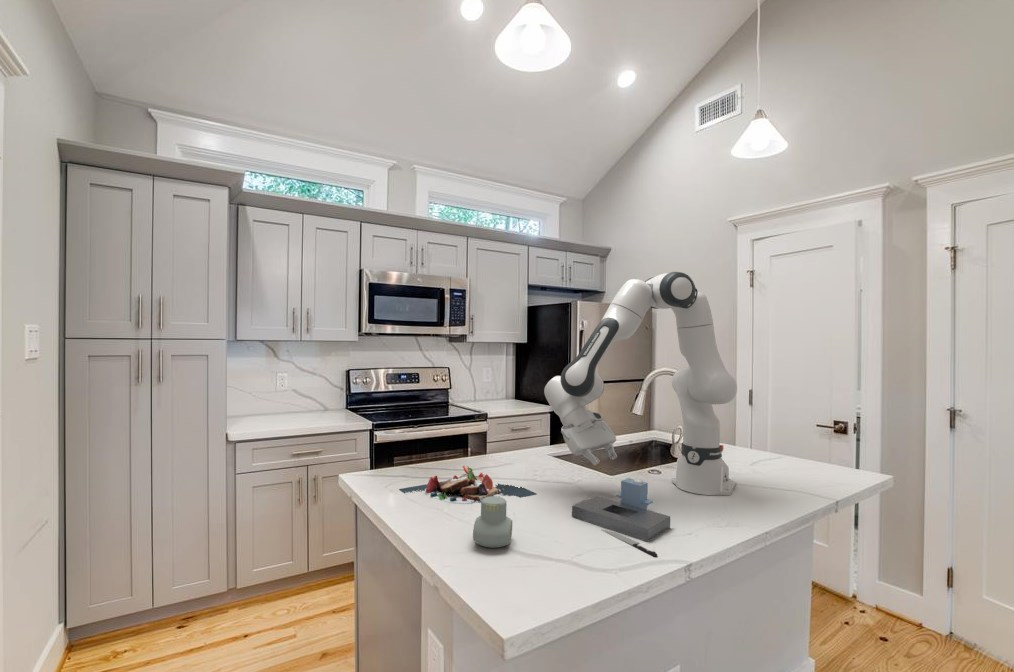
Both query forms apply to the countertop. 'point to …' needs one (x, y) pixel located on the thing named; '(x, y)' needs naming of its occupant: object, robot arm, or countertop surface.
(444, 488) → the platter
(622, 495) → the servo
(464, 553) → the countertop surface
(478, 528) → the air freshener
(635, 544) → the chef's knife
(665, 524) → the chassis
